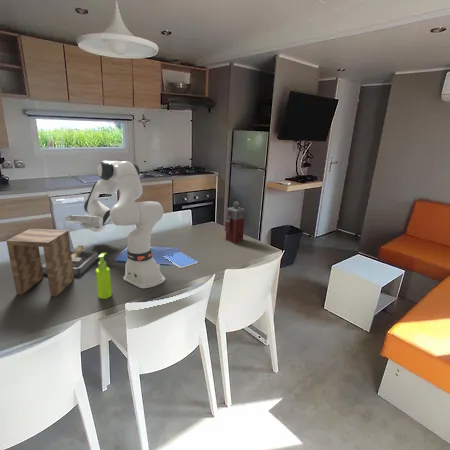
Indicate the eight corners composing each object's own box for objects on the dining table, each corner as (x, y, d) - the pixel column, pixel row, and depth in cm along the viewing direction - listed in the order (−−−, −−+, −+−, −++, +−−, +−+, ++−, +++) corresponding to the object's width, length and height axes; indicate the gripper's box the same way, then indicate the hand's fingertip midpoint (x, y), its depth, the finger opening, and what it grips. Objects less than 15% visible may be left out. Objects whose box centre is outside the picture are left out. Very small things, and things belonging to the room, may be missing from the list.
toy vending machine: (222, 240, 212) (224, 201, 203) (234, 237, 219) (236, 199, 210) (231, 244, 205) (233, 204, 197) (243, 240, 213) (245, 202, 204)
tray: (64, 256, 175) (63, 250, 174) (98, 258, 175) (97, 251, 174) (41, 273, 154) (40, 266, 153) (80, 275, 154) (79, 268, 153)
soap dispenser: (114, 290, 142) (111, 251, 136) (109, 298, 135) (106, 258, 129) (101, 290, 141) (98, 251, 135) (96, 298, 135) (92, 257, 129)
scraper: (71, 248, 175) (69, 243, 173) (91, 249, 175) (90, 244, 173) (58, 265, 162) (56, 260, 160) (80, 266, 162) (79, 261, 160)
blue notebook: (162, 258, 181) (162, 256, 180) (180, 253, 189) (180, 251, 188) (180, 269, 167) (180, 267, 167) (198, 263, 175) (198, 261, 175)
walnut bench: (38, 277, 150) (30, 228, 142) (74, 279, 150) (68, 230, 142) (16, 294, 135) (6, 240, 127) (56, 296, 135) (48, 242, 127)
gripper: (72, 215, 182) (59, 210, 169) (105, 217, 182) (96, 212, 169) (70, 226, 181) (58, 221, 167) (104, 227, 181) (94, 223, 167)
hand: (77, 216), depth 168 cm, fingers open, 8 cm apart
